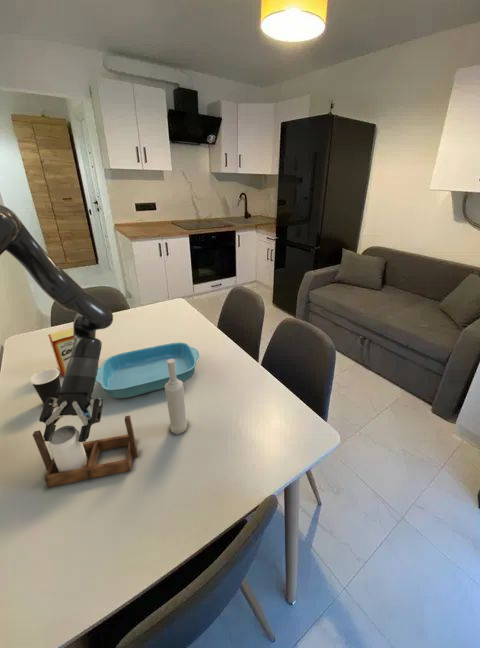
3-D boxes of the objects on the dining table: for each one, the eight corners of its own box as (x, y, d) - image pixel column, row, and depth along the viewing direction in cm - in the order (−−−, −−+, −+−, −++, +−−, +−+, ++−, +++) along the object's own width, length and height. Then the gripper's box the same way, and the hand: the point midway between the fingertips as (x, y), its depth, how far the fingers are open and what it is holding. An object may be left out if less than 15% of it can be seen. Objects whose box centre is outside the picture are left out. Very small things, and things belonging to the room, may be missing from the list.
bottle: (188, 420, 93) (181, 354, 82) (187, 433, 88) (179, 365, 78) (171, 422, 92) (162, 356, 82) (169, 435, 87) (159, 367, 77)
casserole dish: (96, 411, 95) (91, 394, 92) (99, 372, 113) (95, 357, 110) (206, 382, 109) (205, 367, 106) (193, 352, 128) (192, 338, 125)
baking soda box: (85, 359, 120) (76, 325, 114) (90, 366, 116) (81, 332, 109) (58, 368, 114) (47, 333, 108) (62, 376, 110) (51, 340, 103)
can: (71, 482, 73) (59, 449, 68) (53, 473, 75) (40, 440, 70) (93, 461, 79) (83, 428, 74) (76, 453, 81) (65, 421, 76)
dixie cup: (71, 401, 99) (62, 375, 94) (43, 414, 93) (33, 387, 89) (63, 390, 103) (54, 365, 99) (36, 402, 98) (26, 376, 93)
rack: (42, 488, 72) (24, 448, 66) (55, 456, 80) (41, 418, 74) (135, 469, 77) (127, 430, 71) (139, 441, 85) (132, 404, 79)
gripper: (45, 373, 75) (25, 442, 69) (100, 374, 75) (85, 443, 70) (63, 376, 82) (46, 439, 76) (113, 377, 82) (100, 440, 77)
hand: (65, 441), depth 73 cm, fingers open, 8 cm apart
